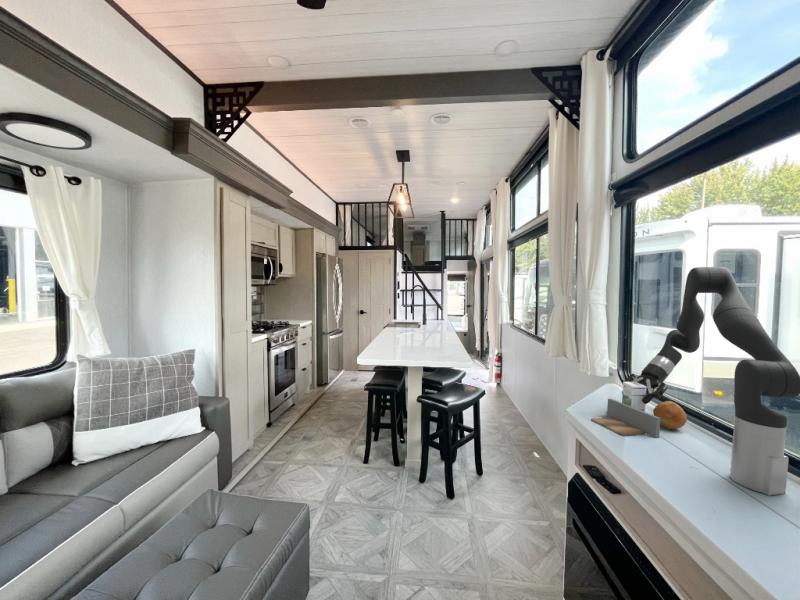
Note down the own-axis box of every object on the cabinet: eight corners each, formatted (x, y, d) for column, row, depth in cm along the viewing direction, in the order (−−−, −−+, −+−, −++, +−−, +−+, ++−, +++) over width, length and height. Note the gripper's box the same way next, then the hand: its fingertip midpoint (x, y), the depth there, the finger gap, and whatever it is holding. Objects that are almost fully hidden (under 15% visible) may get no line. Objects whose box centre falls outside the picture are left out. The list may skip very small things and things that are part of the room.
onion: (647, 421, 129) (649, 396, 129) (677, 424, 127) (679, 399, 126) (659, 431, 120) (661, 404, 120) (691, 435, 117) (694, 408, 117)
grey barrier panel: (659, 437, 114) (660, 418, 114) (655, 438, 114) (657, 418, 113) (609, 415, 134) (610, 398, 133) (606, 415, 133) (607, 398, 133)
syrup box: (645, 423, 127) (647, 386, 127) (629, 422, 127) (632, 385, 127) (634, 417, 133) (637, 381, 132) (620, 416, 133) (622, 381, 132)
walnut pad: (645, 434, 116) (645, 432, 116) (623, 436, 114) (623, 434, 114) (611, 418, 130) (611, 417, 130) (590, 420, 128) (590, 418, 128)
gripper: (636, 359, 138) (612, 386, 136) (671, 367, 124) (645, 398, 122) (645, 371, 140) (622, 398, 137) (681, 381, 126) (656, 411, 123)
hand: (633, 398), depth 130 cm, fingers open, 8 cm apart
